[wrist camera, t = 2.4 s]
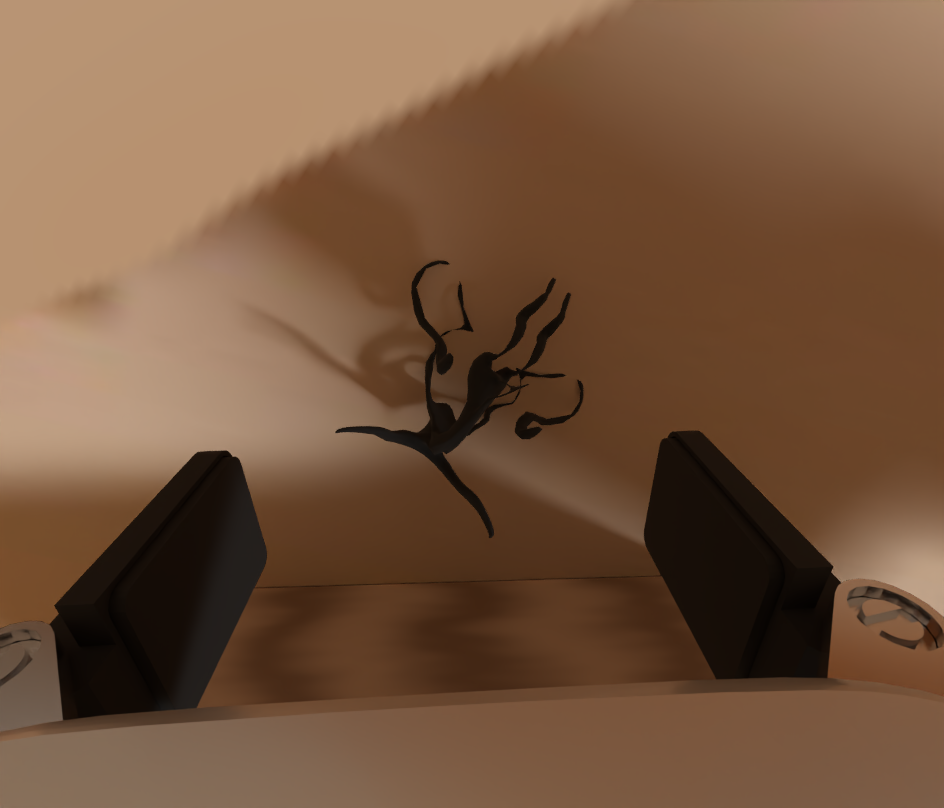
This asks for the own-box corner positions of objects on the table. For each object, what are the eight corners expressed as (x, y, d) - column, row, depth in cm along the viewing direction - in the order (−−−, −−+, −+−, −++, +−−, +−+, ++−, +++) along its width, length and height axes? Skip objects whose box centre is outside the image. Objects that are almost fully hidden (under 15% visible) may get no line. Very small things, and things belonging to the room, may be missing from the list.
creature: (466, 208, 16) (327, 382, 17) (501, 179, 11) (298, 430, 12) (614, 349, 18) (485, 495, 19) (698, 380, 13) (518, 577, 14)
